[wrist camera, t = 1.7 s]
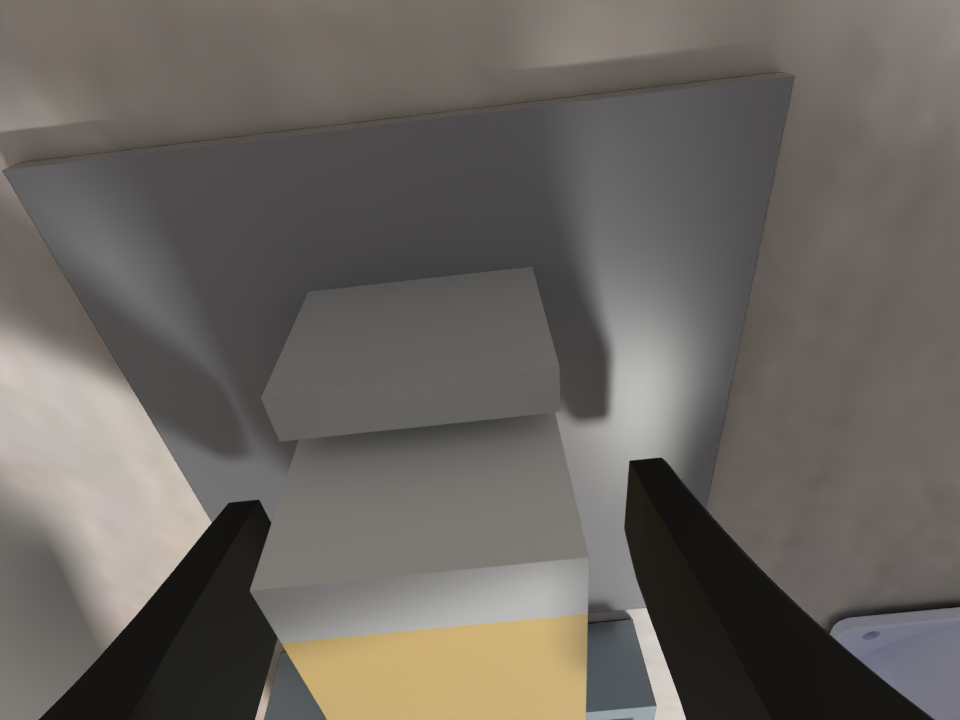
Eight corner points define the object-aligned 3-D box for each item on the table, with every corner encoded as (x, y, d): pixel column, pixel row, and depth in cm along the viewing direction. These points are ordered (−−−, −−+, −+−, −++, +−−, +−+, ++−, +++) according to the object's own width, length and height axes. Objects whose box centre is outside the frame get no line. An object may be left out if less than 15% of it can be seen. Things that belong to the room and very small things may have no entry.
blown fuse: (535, 328, 10) (589, 557, 6) (546, 534, 14) (584, 764, 10) (327, 351, 11) (248, 591, 6) (390, 549, 14) (365, 784, 10)
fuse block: (781, 72, 8) (941, 122, 6) (681, 591, 17) (728, 716, 14) (18, 163, 9) (-182, 252, 6) (287, 629, 17) (254, 760, 14)
